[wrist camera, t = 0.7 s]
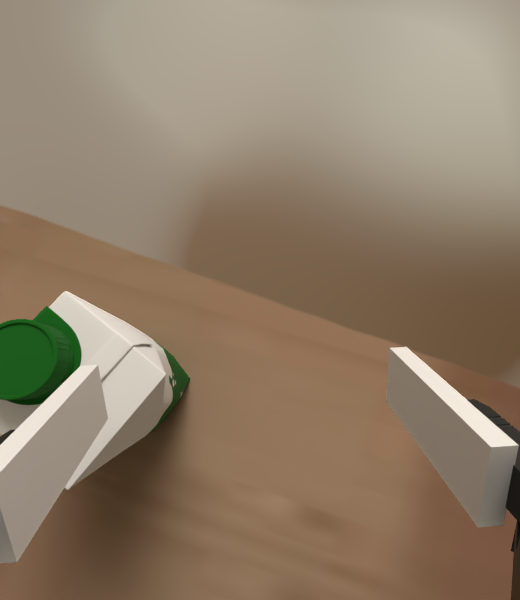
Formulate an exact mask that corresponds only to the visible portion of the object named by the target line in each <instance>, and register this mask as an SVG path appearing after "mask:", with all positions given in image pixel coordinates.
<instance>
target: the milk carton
mask: <svg viewBox="0 0 520 600" xmlns="http://www.w3.org/2000/svg"><path fill="white" fill-rule="evenodd" d="M86 365H98V367H99V372H100V378H101V383H102V388H103V394H104V399H105V405H106V410H107V415H108V420H107V421H106V423H105V424H104V426H103V428H102V429H101V431H100V432H99V434H98V436H97V437H96V439H95V440H94V442H93V443H92V445H91V447H90V448H89V450H88V451H87V453H86V454H85V456H84V458H83V459H82V461H81V462H80V464H79V465H78V467H77V469H76V470H75V472H74V473H73V475H72V477H71V478H70V480H69V481H68V483H67V484H66V486H65V488H66V489H67V490H69V489H70V488H72V487H73V486H74V485H76V484H77V483H79V482H80V481H81V480H83V479H84V478H86V477H87V476H88V475H90V474H91V473H93V472H94V471H95V470H97V469H98V468H100V467H101V466H102V465H104V464H105V463H107V462H108V461H110V460H111V459H112V458H114V457H115V456H117V455H118V454H120V453H121V452H122V451H124V450H125V449H127V448H128V447H130V446H131V445H133V444H134V443H136V442H137V441H139V440H140V439H142V438H143V437H145V436H146V435H148V434H149V433H151V432H152V431H154V430H155V429H156V428H157V427H158V426H159V425H160V424H161V423H162V422H163V421H164V419H165V418H166V417H167V416H168V414H169V413H170V412H171V410H172V409H173V408H174V407H175V405H176V404H177V403H178V401H179V400H180V398H181V396H182V394H183V392H184V390H185V388H186V386H187V384H188V382H189V380H190V378H189V377H188V375H187V374H186V373H185V371H184V370H183V369H182V367H181V366H180V365H179V363H178V362H177V361H176V359H175V358H174V357H173V356H172V355H171V354H170V353H169V352H168V351H167V350H165V349H164V348H163V347H162V346H161V345H159V344H158V343H157V342H156V341H154V340H153V339H152V338H150V337H149V336H147V335H146V334H144V333H143V332H141V331H139V330H138V329H136V328H135V327H133V326H131V325H130V324H128V323H126V322H124V321H123V320H121V319H119V318H117V317H115V316H113V315H111V314H109V313H107V312H105V311H103V310H101V309H99V308H98V307H96V306H94V305H92V304H90V303H88V302H86V301H85V300H83V299H81V298H79V297H77V296H75V295H73V294H71V293H69V292H67V291H65V292H63V293H62V294H61V295H60V296H59V297H58V298H57V299H56V300H55V301H54V303H53V304H52V305H51V306H50V307H47V306H46V307H45V308H44V309H43V310H42V311H41V312H40V313H39V314H38V315H37V316H36V317H35V318H34V319H33V320H26V319H16V320H10V321H7V322H4V323H2V324H0V433H1V434H2V435H3V434H5V433H6V432H8V431H9V430H15V429H17V428H18V427H19V426H20V425H21V424H22V423H23V422H24V421H25V420H26V419H27V418H28V417H29V416H30V415H31V414H32V413H33V412H34V411H35V410H36V409H37V408H38V407H39V406H40V405H41V404H42V403H43V402H44V401H45V400H46V399H47V398H48V397H49V396H50V395H51V394H52V393H53V392H54V391H56V390H57V389H58V388H59V387H60V386H61V385H62V384H63V383H64V382H65V381H66V380H67V379H68V378H69V377H70V376H71V375H72V374H73V373H74V372H75V371H76V370H77V369H78V368H79V367H80V366H86Z"/></svg>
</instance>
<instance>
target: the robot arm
mask: <svg viewBox="0 0 520 600" xmlns="http://www.w3.org/2000/svg"><path fill="white" fill-rule="evenodd" d="M386 402H387V403H388V404H389V406H390V407H391V409H392V410H393V411H394V413H395V414H396V415H397V417H398V418H399V420H400V421H401V422H402V424H403V425H404V426H405V428H406V429H407V431H408V432H409V433H410V435H411V436H412V437H413V439H414V440H415V442H416V443H417V444H418V446H419V447H420V448H421V450H422V451H423V453H424V454H425V455H426V457H427V458H428V460H429V461H430V462H431V464H432V465H433V466H434V468H435V469H436V471H437V472H438V473H439V475H440V476H441V477H442V479H443V480H444V482H445V483H446V484H447V486H448V487H449V488H450V490H451V491H452V493H453V494H454V495H455V497H456V498H457V499H458V501H459V502H460V504H461V505H462V506H463V508H464V509H465V510H466V512H467V513H468V515H469V516H470V517H471V519H472V520H473V522H474V523H475V524H476V526H477V527H489V526H502V525H504V519H505V514H506V509H508V510H509V511H510V513H511V514H512V515H513V516H514V517H515V518H516V519H517V524H516V529H515V534H514V539H513V543H512V548H511V551H513V552H514V559H513V575H512V591H511V600H520V432H519V431H518V430H517V429H516V428H514V427H513V426H510V424H509V423H508V422H507V421H506V420H505V419H503V418H501V416H500V415H499V414H497V413H496V412H495V411H494V410H492V409H491V408H490V407H488V406H486V405H484V404H482V403H480V402H479V401H477V400H475V399H473V400H466V399H465V398H464V397H463V396H462V395H461V394H459V393H458V392H457V391H456V390H455V389H454V388H453V387H451V386H450V385H449V384H448V383H447V382H446V381H445V380H443V379H442V378H441V377H440V376H439V375H438V374H437V373H435V372H434V371H433V370H432V369H431V368H430V367H429V366H427V365H426V364H425V363H424V362H423V361H422V360H421V359H419V358H418V357H417V356H416V355H415V354H414V353H413V352H411V351H410V350H409V349H408V348H407V347H397V348H390V351H389V367H388V382H387V397H386ZM107 420H108V415H107V410H106V405H105V399H104V394H103V388H102V383H101V378H100V372H99V367H98V365H86V366H80V367H79V368H78V369H77V370H76V371H75V372H74V373H73V374H72V375H71V376H70V377H69V378H68V379H67V380H66V381H65V382H64V383H63V384H62V385H61V386H60V387H59V388H58V389H57V390H56V391H54V392H53V393H52V394H51V395H50V396H49V397H48V398H47V399H46V400H45V401H44V402H43V403H42V404H41V405H40V406H39V407H38V408H37V409H36V410H35V411H34V412H33V413H32V414H31V415H30V416H29V417H28V418H27V419H26V420H25V421H24V422H23V423H22V424H21V425H20V426H19V427H18V428H17V429H15V430H9V431H8V432H6V433H5V434H3V435H1V436H0V564H2V563H15V562H18V560H19V559H20V557H21V555H22V554H23V552H24V551H25V549H26V548H27V546H28V544H29V543H30V541H31V540H32V538H33V536H34V535H35V533H36V532H37V530H38V529H39V527H40V525H41V524H42V522H43V521H44V519H45V518H46V516H47V514H48V513H49V511H50V510H51V508H52V506H53V505H54V503H55V502H56V500H57V499H58V497H59V495H60V494H61V492H62V491H63V489H64V488H65V486H66V484H67V483H68V481H69V480H70V478H71V477H72V475H73V473H74V472H75V470H76V469H77V467H78V465H79V464H80V462H81V461H82V459H83V458H84V456H85V454H86V453H87V451H88V450H89V448H90V447H91V445H92V443H93V442H94V440H95V439H96V437H97V436H98V434H99V432H100V431H101V429H102V428H103V426H104V424H105V423H106V421H107Z"/></svg>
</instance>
